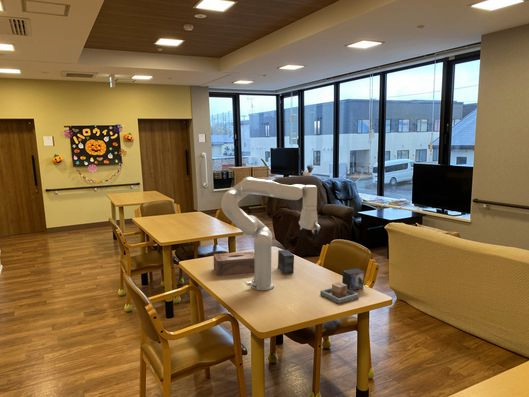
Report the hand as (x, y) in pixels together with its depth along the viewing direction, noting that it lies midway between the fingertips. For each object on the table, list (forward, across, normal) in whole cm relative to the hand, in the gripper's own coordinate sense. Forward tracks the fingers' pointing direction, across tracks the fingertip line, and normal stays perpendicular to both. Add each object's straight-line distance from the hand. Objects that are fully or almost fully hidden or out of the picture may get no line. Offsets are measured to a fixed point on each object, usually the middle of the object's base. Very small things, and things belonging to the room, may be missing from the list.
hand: (308, 238), depth 210 cm
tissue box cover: (+29, -46, -20) cm, 58 cm away
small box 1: (+29, -30, +7) cm, 42 cm away
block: (+28, +18, +7) cm, 34 cm away
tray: (+28, +18, +7) cm, 34 cm away
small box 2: (+29, +14, +21) cm, 38 cm away
